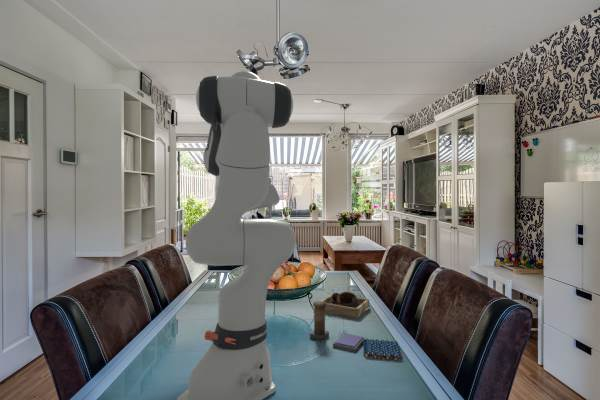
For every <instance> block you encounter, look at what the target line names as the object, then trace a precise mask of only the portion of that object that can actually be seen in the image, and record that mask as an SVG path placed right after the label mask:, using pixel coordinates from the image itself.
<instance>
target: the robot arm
mask: <svg viewBox="0 0 600 400" xmlns="http://www.w3.org/2000/svg"><path fill="white" fill-rule="evenodd" d="M195 102H196V106H197V110H198V112H199V115H200V116H201V118H202V119H203V120H204V121H205V122H206V124H207V123H208V124H209V125H210V129H209V133H208V138H207V143H206V148H205V149H204V152H203V156H202V157H203V159H202V160H203V165H204V168H205V170H206V172H207V173H209V174H210V175H212V176H213V177H214V176H215V177H218V185H217V193H216V197H215V201H214V202H213V203H212V204H213V205H212V206H211V207H210V210H209V211H208V212H207V213H206V214H205V215H204V216H203V217H202V218H201V219H198V220H197V221H196V222H194V223H193V224H192V225H191V226H190V228H189V230H188V231H187V234H186V237H185V250H186V252H187V255H188V256H189V258H190V259H191V261H192V262H193V263H195V264H201V265H206V266H211V267H212V266H213V267H217V266H219V267H220V266H221V267H223V266H244V267H245V268H244V271H243V272H242V273H241V274H240V275H239V276H237V277H236V278H233V279H231V280H229V281H228V282H227V283H225V284H224V285H223V286H222V287H221V289H220V290H219V293H218V299H217V300H218V301H217V303H218V305H217V308H218V309H217V310H218V317H217V318H218V319H217V320H218V321H217V323H216V326H215V329H214V331H211V330H206V331H205V333H204V339H205V340H206V341H210V342H212V343H211V344H210V346H209V348H207V350H206V351H205V353H204V354H203V356H202V357H201V359H200V360H199V361H198V363H197V364H196V366H194V368H193V369H192V371H191V373H190V376H189V381H188V383H189V384H188V387H187V389H185V391H183V392H182V393H181V394H179V395H178V396H177V398H176V400H264V399H265V398H267V397H269V396H271V395H272V394H274V393H275V392H276V390H277V389H276V384H275V382H274V381H273V378H272V364H271V363H272V362H271V353H270V351H269V348H268V344H267V341H266V339H267V338H268V337H267V336H268V324H267V323H268V322H267V320H266V301H267V294H268V288H269V285H270V282H271V280H272V278H273V276H274V274H275V273H276V271H277V270H279V268H280V267H281V266H282V265H283V264H284V263H286V261H288V260H289V259H290V258H291V257H292V255H293V254H294V251H295V249H296V245H297V238H296V233H295V231H294V229H293V228H292V226H291V225H290V223H288V222H287V221H284V220H279V219H272V218H273V215H272V211H273V206H277V205H278V204H279V202H280V195H279V193H278V191H277V188H276V187H275V185H274V184H272V179H271V177H270V166H271V144H270V141H271V140H270V133H269V128H272V129H277V128H283V127H285V126H286V125H287V124H288V123H289V122H290V118H291V116H292V114H293V111H294V110H293V109H294V100H293V95H292V92H291V90H290V88H289V87H288V86H287V85H286V84H284V83H281V82H278V81H274V82H271V81H268V80H262V79H261V78H260V77H259V76H258V75H257V74H255V73H253V72H250V71H245V70H243V71H238V72H235V73H233V74H232V75H231V76H218V75H209V76H205V77H203V78H202V79H201V81H199V85H198V88H197V91H196V95H195ZM263 208H266V209H267V210H268V211H267V213H266V214H265V216H266V218H245V217H244V218H243V215H244V214H245V213H246V212H250V211H254V210H259V209H263Z"/></svg>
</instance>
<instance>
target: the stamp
mask: <svg viewBox="0 0 600 400" xmlns="http://www.w3.org/2000/svg"><path fill="white" fill-rule="evenodd" d="M312 303H313V304H312V306H313V307H314V308H313V309H314V310H313V311H314V318H313V319H314V321H313V323H314V325H313V331H311V332H310V333H309V339H311V340H316V341H320V342H324V341H325V340H326V339H327V338H328V337H329V336H330V331H328V330H326V313H325V307H326V302H322V300H320V301H319V300H318V301H314V302H312Z"/></svg>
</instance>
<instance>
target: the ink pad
mask: <svg viewBox="0 0 600 400" xmlns="http://www.w3.org/2000/svg"><path fill="white" fill-rule="evenodd" d="M365 339H366V336H365V337H364V336H361V335H357V334H356V335H355V334H351V333H346V332H344V333H343V334H341V336H339V337H338V338H337V339H336V340H335V341H334V342H333V343H332V347H333V348H336V349H341V350H344V351H349V352H353V353H356V352H358V350H359V348H361V346H362V345H364V344H363V343H364V340H365Z"/></svg>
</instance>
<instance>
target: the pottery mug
mask: <svg viewBox="0 0 600 400" xmlns="http://www.w3.org/2000/svg"><path fill="white" fill-rule="evenodd" d="M332 294H333V295H332ZM332 294H331V295H332V298H333V300H334V302H335V303H334V304H335V305H340V306H346V307H352V308H357V306H359V305H358V302H357V301H358V299H357V298H358V297H357V295H356V294H355V293H354V292H350V291H342V292H340V293H338V292H333V293H332ZM341 296H343V297H341ZM353 298H355V300H354V302H353V301H352V299H353Z"/></svg>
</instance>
